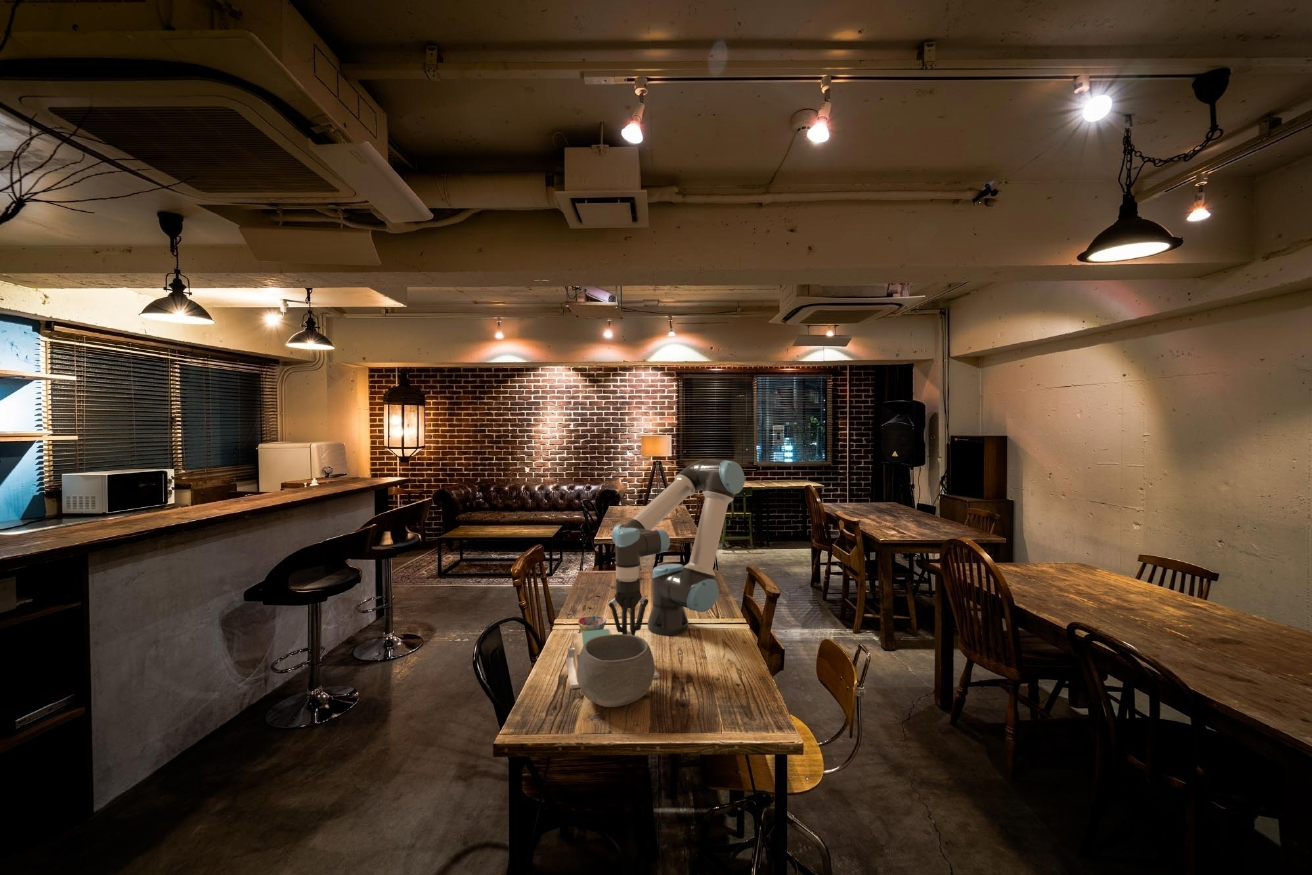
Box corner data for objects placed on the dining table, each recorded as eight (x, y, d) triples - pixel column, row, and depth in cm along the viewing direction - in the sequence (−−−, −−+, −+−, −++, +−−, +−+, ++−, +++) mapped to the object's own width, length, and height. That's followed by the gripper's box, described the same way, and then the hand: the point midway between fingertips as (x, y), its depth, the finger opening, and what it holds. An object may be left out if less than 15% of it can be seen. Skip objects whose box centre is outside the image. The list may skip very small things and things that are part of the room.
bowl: (662, 685, 149) (662, 633, 149) (644, 726, 128) (643, 666, 128) (592, 678, 154) (592, 627, 153) (564, 716, 133) (564, 658, 133)
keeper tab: (609, 630, 157) (609, 628, 157) (612, 649, 152) (612, 647, 152) (581, 633, 155) (581, 631, 155) (583, 652, 150) (583, 650, 150)
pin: (615, 651, 165) (615, 637, 165) (618, 657, 160) (618, 643, 160) (567, 657, 161) (567, 642, 161) (568, 663, 157) (568, 648, 157)
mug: (602, 659, 166) (602, 626, 166) (574, 657, 167) (574, 624, 167) (611, 644, 178) (611, 613, 177) (585, 642, 179) (585, 612, 179)
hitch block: (645, 652, 171) (645, 625, 171) (659, 677, 154) (659, 647, 154) (565, 661, 165) (565, 633, 165) (570, 688, 147) (570, 657, 147)
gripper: (645, 573, 168) (646, 645, 169) (605, 576, 165) (606, 649, 166) (650, 579, 161) (651, 655, 162) (609, 583, 158) (610, 660, 159)
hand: (628, 652), depth 164 cm, fingers closed
